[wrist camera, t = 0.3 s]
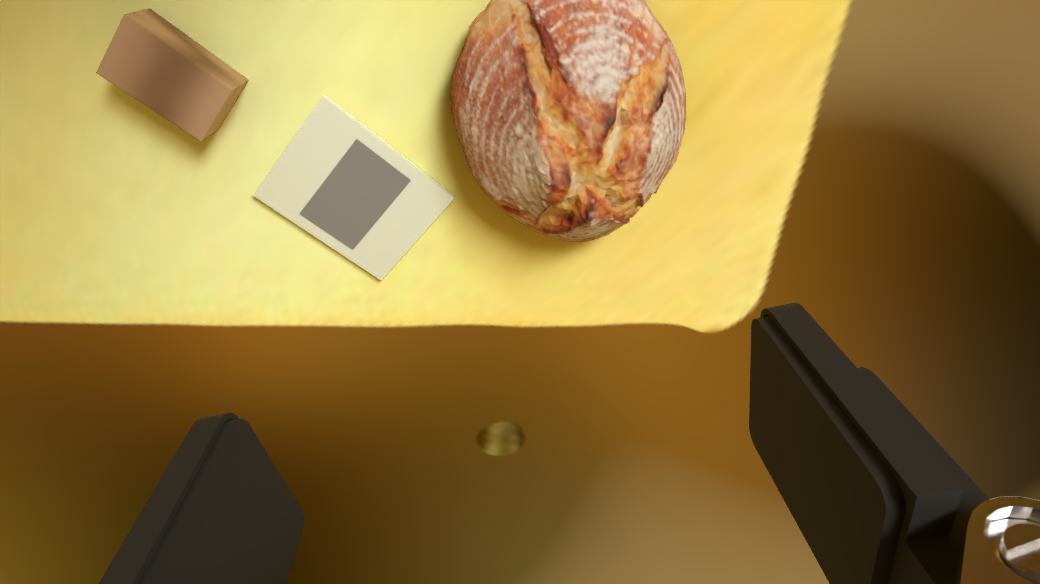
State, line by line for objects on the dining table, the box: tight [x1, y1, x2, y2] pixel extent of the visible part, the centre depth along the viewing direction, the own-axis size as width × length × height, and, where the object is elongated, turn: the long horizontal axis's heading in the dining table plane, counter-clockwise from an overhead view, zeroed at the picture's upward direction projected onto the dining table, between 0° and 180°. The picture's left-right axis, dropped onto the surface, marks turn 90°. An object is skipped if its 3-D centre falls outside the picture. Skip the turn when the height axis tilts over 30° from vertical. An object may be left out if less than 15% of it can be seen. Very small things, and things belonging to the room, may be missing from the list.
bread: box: [451, 0, 686, 242], centre depth 40 cm, size 16×20×10 cm
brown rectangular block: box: [96, 9, 248, 142], centre depth 39 cm, size 7×4×4 cm, turn 49°
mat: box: [253, 95, 454, 280], centre depth 45 cm, size 12×10×1 cm
